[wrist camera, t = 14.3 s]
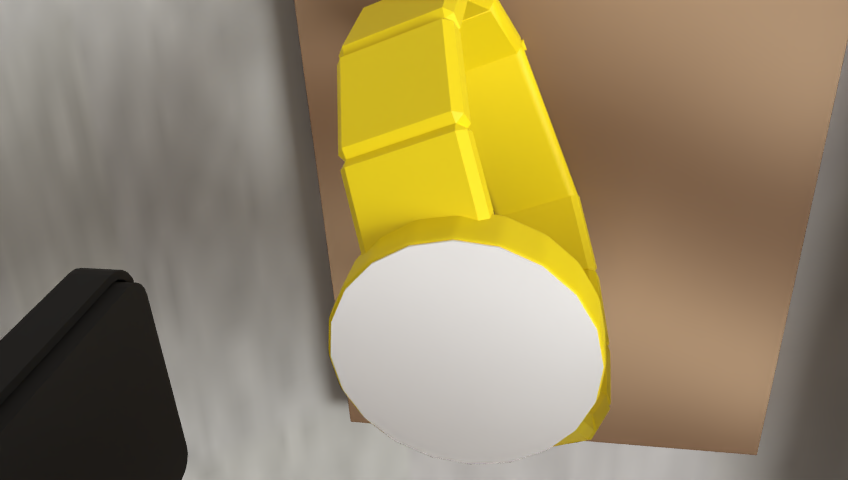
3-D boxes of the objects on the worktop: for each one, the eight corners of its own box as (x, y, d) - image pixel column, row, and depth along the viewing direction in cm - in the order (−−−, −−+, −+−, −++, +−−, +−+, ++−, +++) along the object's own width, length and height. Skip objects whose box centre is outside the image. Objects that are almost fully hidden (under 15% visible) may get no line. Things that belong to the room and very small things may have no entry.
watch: (362, -9, 12) (189, 114, 7) (535, -80, 11) (477, 3, 6) (497, 312, 15) (437, 584, 9) (651, 274, 14) (680, 553, 8)
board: (751, 432, 16) (756, 455, 15) (357, 402, 17) (350, 421, 17) (903, -297, 10) (922, -299, 9) (274, -255, 11) (260, -255, 11)
